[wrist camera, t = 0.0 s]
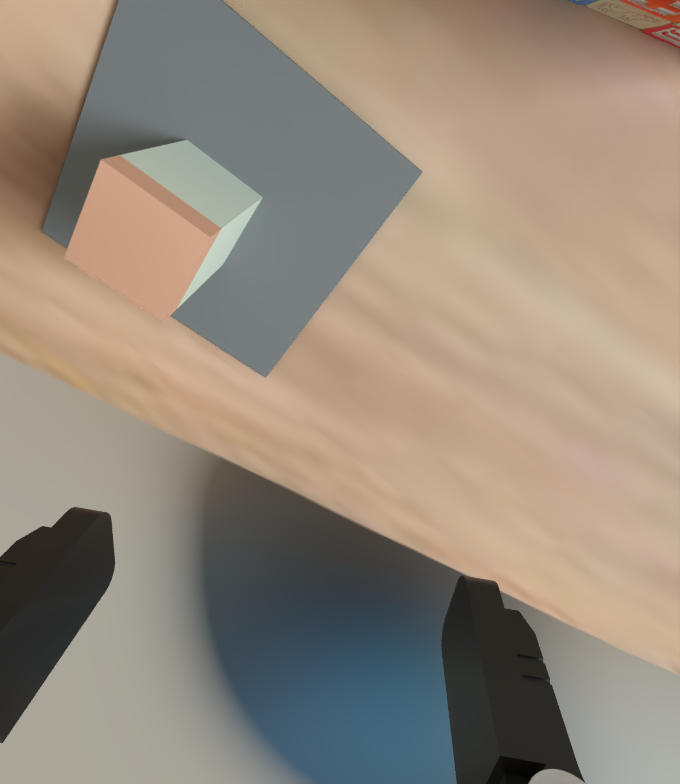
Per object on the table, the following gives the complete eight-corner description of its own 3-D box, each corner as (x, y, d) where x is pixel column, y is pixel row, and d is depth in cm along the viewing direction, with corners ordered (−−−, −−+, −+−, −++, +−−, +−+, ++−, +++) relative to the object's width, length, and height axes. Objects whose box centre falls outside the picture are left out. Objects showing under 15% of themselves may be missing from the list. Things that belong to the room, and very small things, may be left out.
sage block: (187, 139, 26) (101, 159, 19) (262, 197, 28) (210, 237, 20) (152, 214, 29) (63, 258, 21) (223, 264, 30) (163, 322, 22)
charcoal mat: (145, -66, 22) (141, -68, 22) (421, 171, 26) (422, 172, 26) (45, 230, 30) (41, 231, 30) (266, 374, 35) (265, 377, 34)
